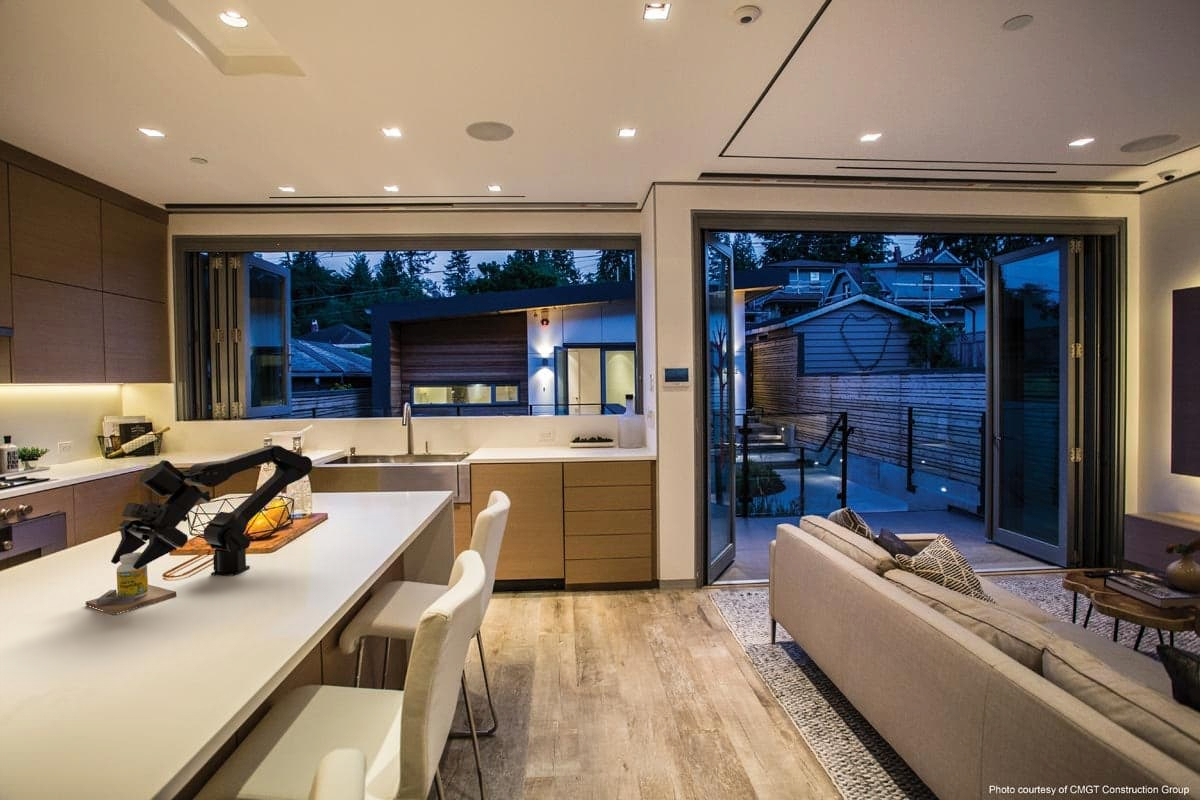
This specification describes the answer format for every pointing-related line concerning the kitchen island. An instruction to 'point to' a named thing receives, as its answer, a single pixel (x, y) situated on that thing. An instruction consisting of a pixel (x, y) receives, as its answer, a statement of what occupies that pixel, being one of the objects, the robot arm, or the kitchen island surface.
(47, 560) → the kitchen island surface
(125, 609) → the square wooden base plate
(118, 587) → the supplement bottle
